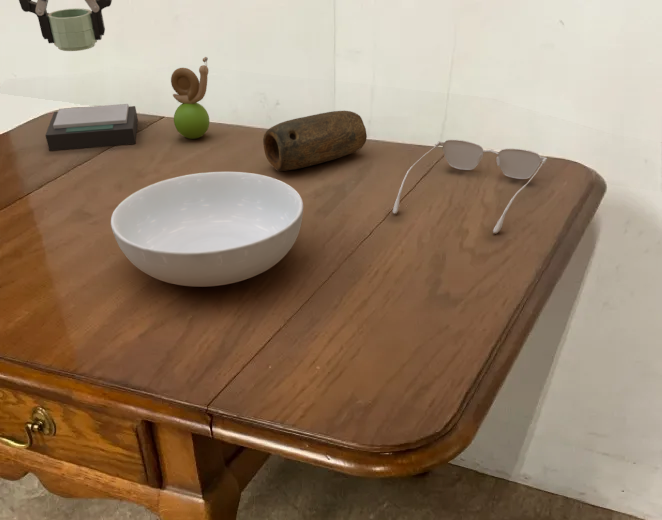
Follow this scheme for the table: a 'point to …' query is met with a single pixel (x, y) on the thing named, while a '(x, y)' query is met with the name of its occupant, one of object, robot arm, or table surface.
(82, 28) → the dip bowl
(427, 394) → the table surface
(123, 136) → the scale
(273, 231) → the serving bowl
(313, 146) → the hollow wooden cylinder
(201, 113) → the snail figurine
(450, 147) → the eyeglasses
